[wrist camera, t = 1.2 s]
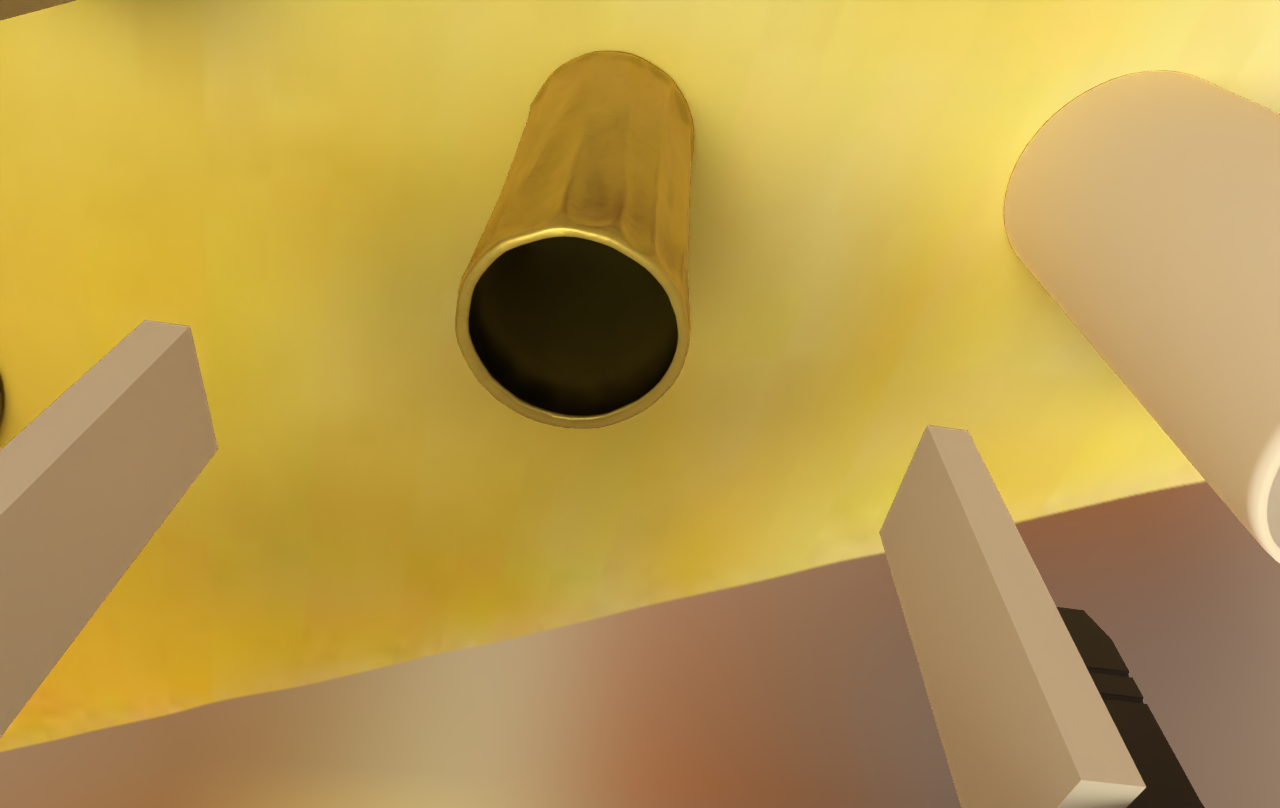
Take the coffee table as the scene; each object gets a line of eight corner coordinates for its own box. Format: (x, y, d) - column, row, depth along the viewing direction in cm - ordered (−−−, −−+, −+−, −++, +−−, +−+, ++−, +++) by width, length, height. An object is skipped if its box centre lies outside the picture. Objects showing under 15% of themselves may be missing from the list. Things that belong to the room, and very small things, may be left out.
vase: (546, 26, 27) (451, 167, 15) (716, 78, 28) (751, 250, 16) (514, 193, 30) (418, 412, 19) (667, 235, 31) (666, 469, 19)
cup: (957, 225, 30) (1172, 512, 17) (1128, 22, 26) (1582, 202, 13) (1110, 317, 33) (1403, 634, 20) (1291, 144, 28) (1821, 401, 15)
